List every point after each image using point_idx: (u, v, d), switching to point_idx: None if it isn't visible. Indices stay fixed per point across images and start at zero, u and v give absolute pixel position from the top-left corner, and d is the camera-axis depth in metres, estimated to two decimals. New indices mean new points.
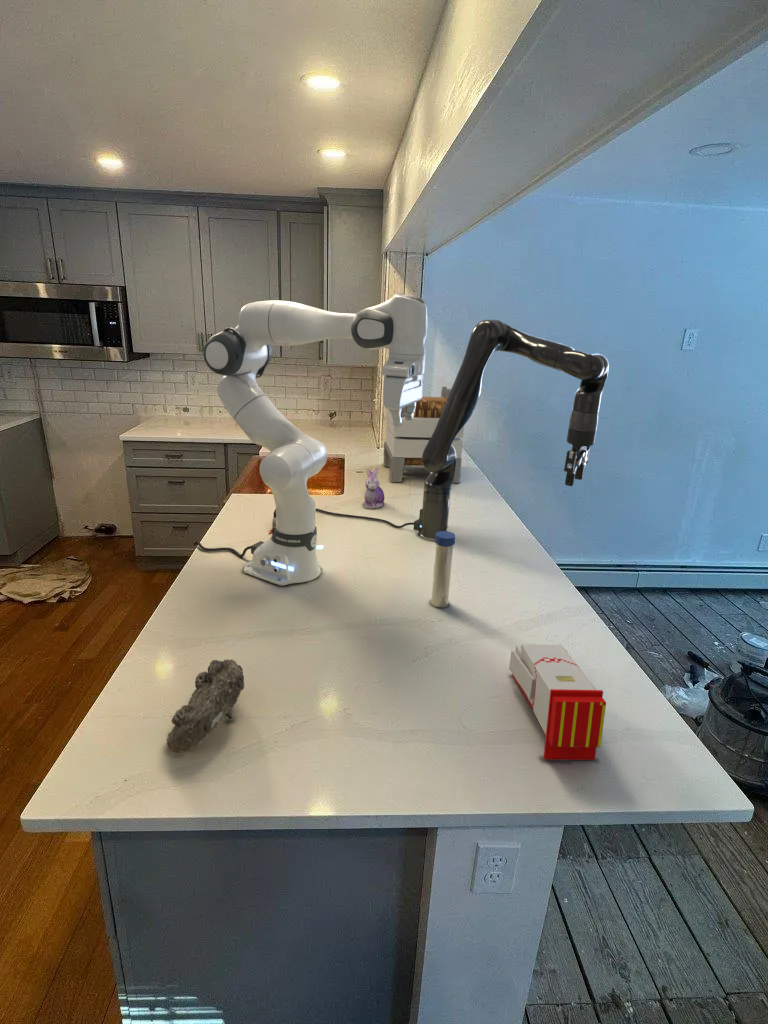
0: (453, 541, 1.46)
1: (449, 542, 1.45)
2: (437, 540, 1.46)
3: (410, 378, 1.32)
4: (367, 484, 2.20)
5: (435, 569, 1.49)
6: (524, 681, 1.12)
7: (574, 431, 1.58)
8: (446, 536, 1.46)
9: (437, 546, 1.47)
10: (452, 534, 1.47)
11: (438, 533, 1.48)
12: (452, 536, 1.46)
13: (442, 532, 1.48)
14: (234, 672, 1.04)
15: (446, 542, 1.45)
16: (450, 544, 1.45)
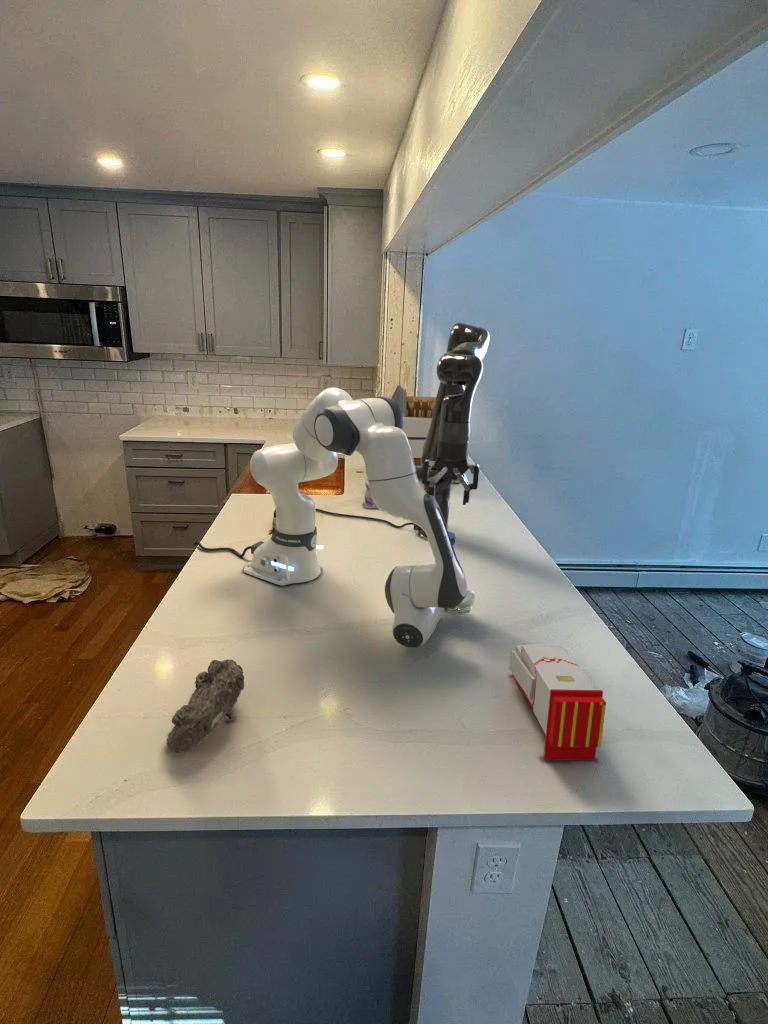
0: (453, 541, 1.46)
1: None
2: None
3: None
4: (367, 484, 2.20)
5: None
6: (524, 681, 1.12)
7: None
8: None
9: None
10: (452, 534, 1.47)
11: None
12: (452, 536, 1.46)
13: None
14: (234, 672, 1.04)
15: None
16: None
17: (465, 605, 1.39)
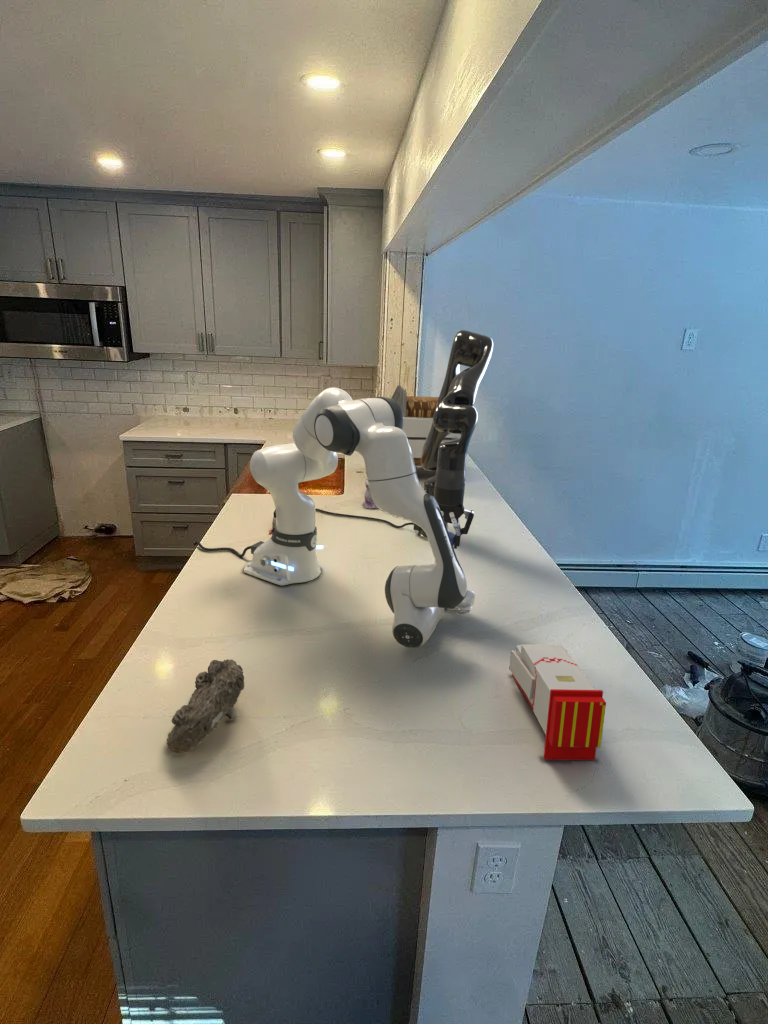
0: (453, 541, 1.46)
1: None
2: None
3: None
4: (367, 484, 2.20)
5: None
6: (524, 681, 1.12)
7: None
8: None
9: None
10: (452, 534, 1.47)
11: None
12: (452, 536, 1.46)
13: None
14: (234, 672, 1.04)
15: None
16: None
17: (465, 605, 1.39)
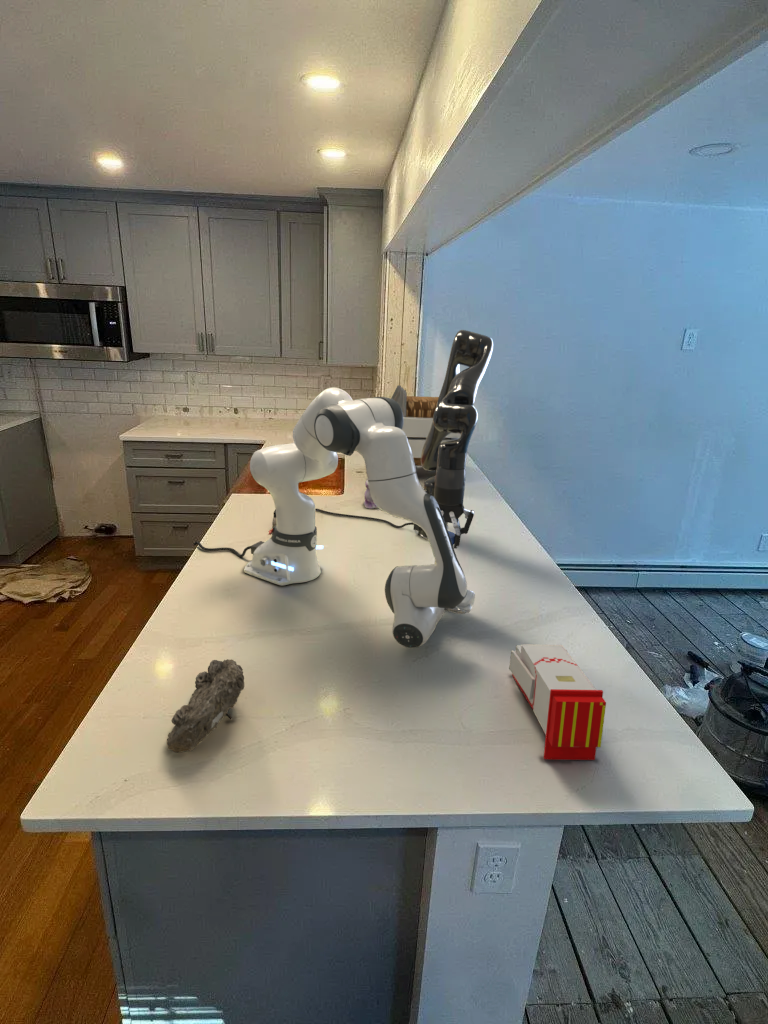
0: None
1: None
2: (453, 541, 1.46)
3: None
4: (367, 484, 2.20)
5: None
6: (524, 681, 1.12)
7: None
8: (449, 533, 1.47)
9: None
10: None
11: None
12: None
13: None
14: (234, 672, 1.04)
15: None
16: None
17: (465, 605, 1.39)
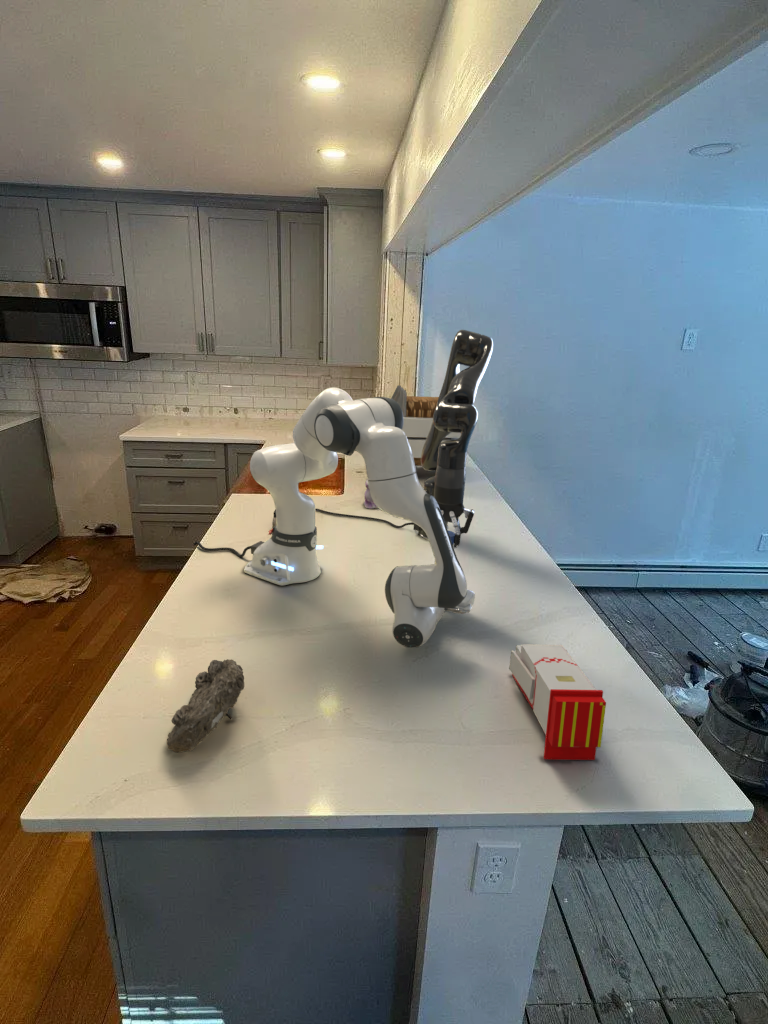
0: None
1: None
2: None
3: None
4: (367, 484, 2.20)
5: None
6: (524, 681, 1.12)
7: None
8: None
9: None
10: None
11: (452, 533, 1.47)
12: None
13: (450, 535, 1.46)
14: (234, 672, 1.04)
15: None
16: None
17: (465, 605, 1.39)
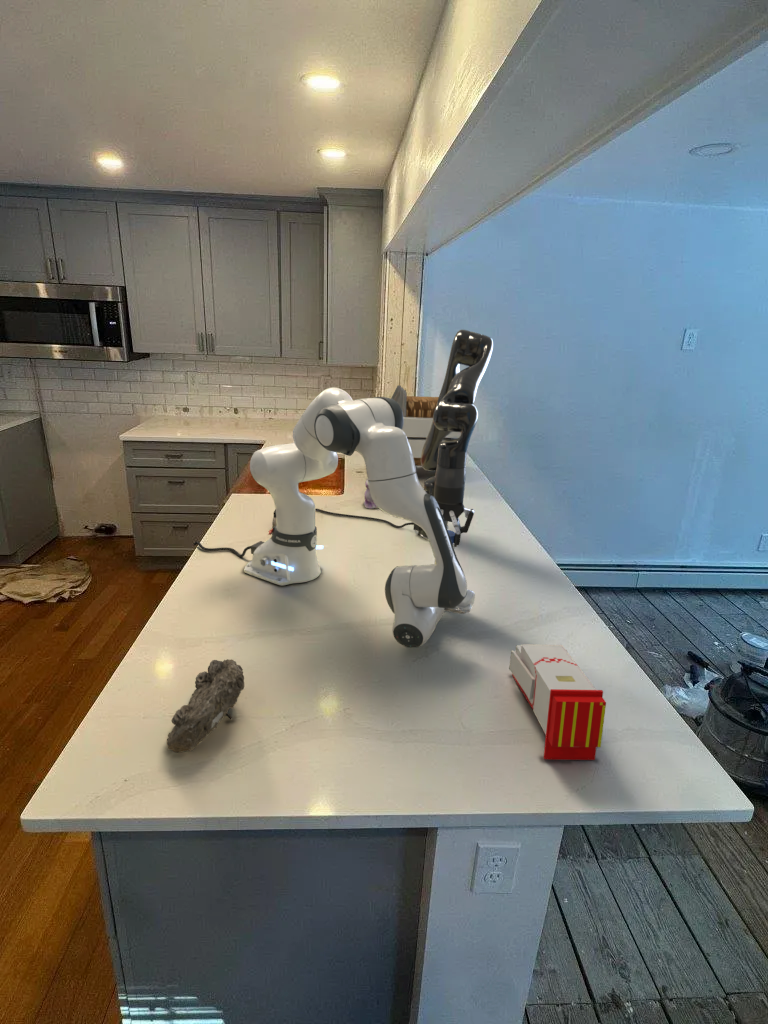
0: None
1: None
2: None
3: None
4: (367, 484, 2.20)
5: None
6: (524, 681, 1.12)
7: None
8: None
9: None
10: (451, 535, 1.46)
11: None
12: None
13: (448, 531, 1.48)
14: (234, 672, 1.04)
15: None
16: None
17: (465, 605, 1.39)
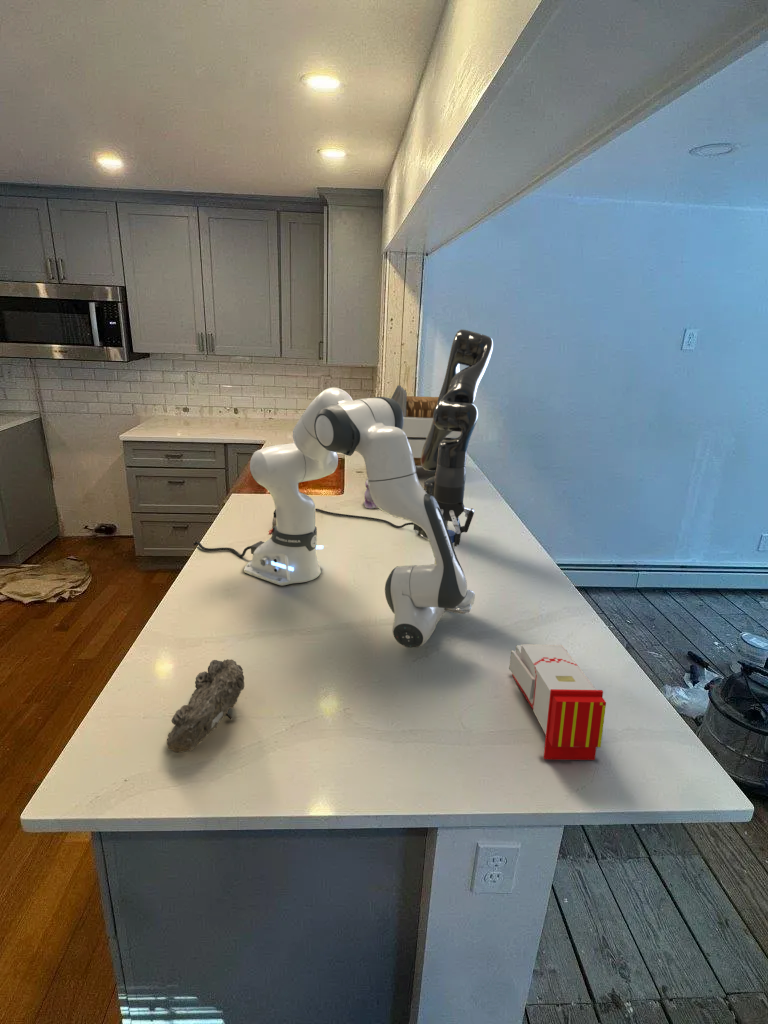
0: None
1: (454, 538, 1.46)
2: None
3: None
4: (367, 484, 2.20)
5: None
6: (524, 681, 1.12)
7: None
8: (449, 533, 1.46)
9: None
10: (449, 530, 1.48)
11: None
12: (452, 532, 1.47)
13: None
14: (234, 672, 1.04)
15: (453, 539, 1.46)
16: None
17: (465, 605, 1.39)
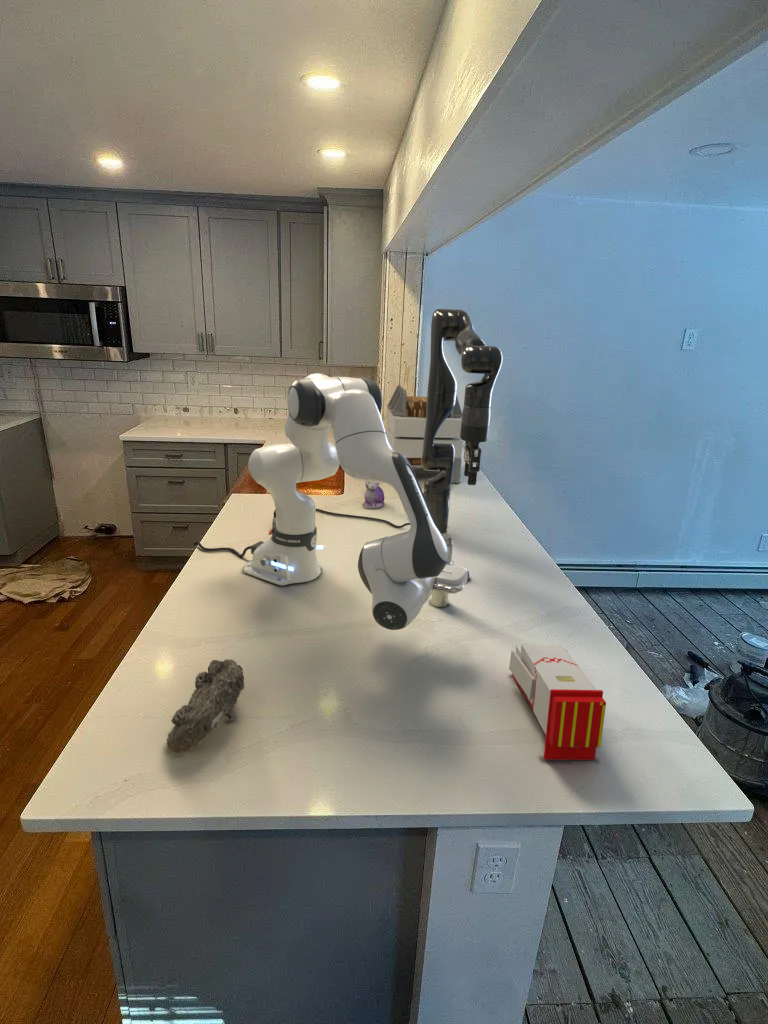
0: None
1: None
2: None
3: None
4: (367, 484, 2.20)
5: None
6: (524, 681, 1.12)
7: (472, 428, 1.50)
8: None
9: None
10: None
11: None
12: None
13: None
14: (234, 672, 1.04)
15: None
16: None
17: (456, 583, 1.23)
